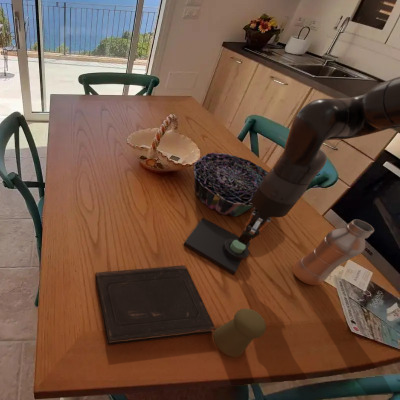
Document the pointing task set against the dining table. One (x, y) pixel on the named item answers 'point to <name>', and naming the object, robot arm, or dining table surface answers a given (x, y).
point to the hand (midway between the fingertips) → (242, 241)
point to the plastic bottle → (332, 252)
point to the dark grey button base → (216, 245)
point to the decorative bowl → (227, 182)
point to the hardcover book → (151, 305)
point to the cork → (239, 332)
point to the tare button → (237, 246)
